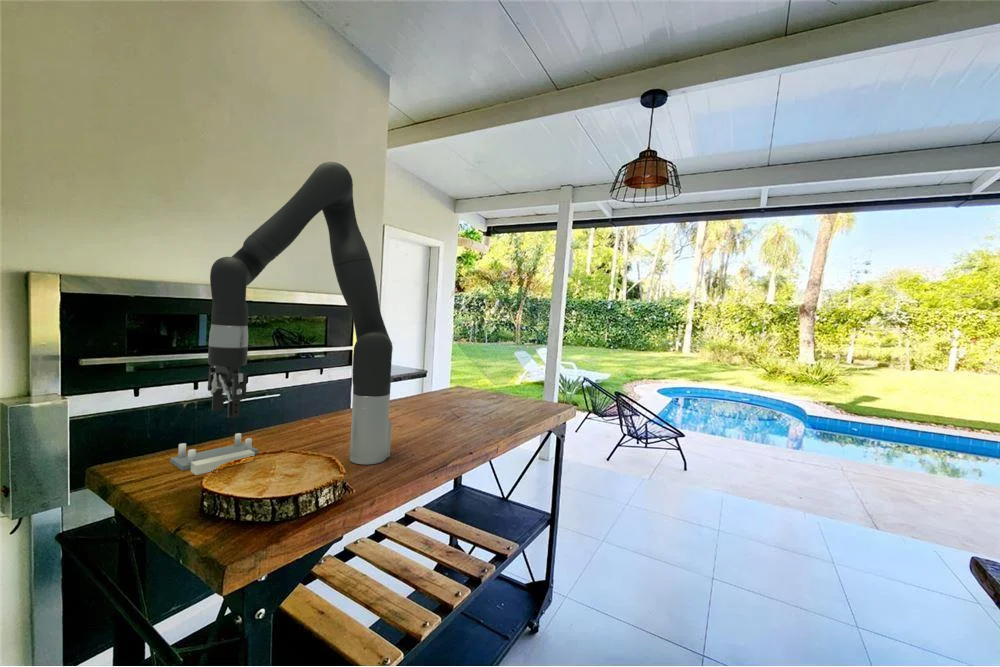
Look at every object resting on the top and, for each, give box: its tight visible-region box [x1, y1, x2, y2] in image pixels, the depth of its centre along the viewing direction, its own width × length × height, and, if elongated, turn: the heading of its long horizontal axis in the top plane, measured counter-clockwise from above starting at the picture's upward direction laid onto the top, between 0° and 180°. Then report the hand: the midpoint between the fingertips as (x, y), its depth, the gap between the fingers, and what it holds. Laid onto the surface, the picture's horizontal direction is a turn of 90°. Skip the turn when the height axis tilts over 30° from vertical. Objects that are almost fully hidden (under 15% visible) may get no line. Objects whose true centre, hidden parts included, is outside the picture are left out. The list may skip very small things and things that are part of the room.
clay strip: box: [190, 450, 256, 476], centre depth 94 cm, size 12×3×2 cm, turn 145°
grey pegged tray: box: [169, 432, 259, 472], centre depth 99 cm, size 16×8×4 cm, turn 146°
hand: (225, 413), depth 93 cm, fingers open, 8 cm apart
